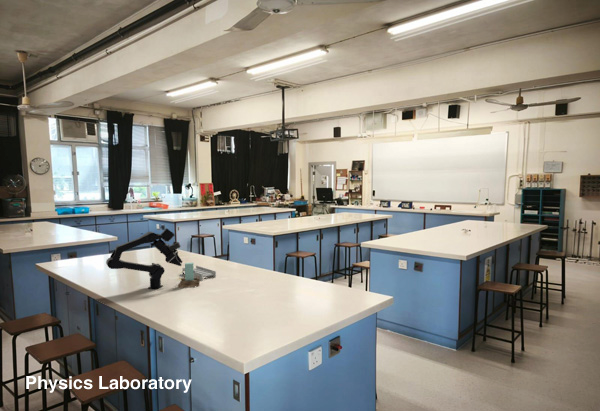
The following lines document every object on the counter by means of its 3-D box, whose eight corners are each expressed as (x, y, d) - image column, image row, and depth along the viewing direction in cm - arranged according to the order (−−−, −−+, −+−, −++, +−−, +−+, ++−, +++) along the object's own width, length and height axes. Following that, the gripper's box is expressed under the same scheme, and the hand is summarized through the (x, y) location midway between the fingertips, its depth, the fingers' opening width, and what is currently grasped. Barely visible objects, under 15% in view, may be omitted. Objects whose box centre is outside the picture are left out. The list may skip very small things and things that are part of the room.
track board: (179, 287, 214) (178, 280, 214) (180, 283, 224) (180, 276, 223) (199, 286, 217) (199, 279, 217) (199, 281, 227) (199, 275, 226)
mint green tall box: (185, 283, 218) (184, 264, 217) (185, 282, 221) (185, 263, 221) (194, 283, 219) (194, 263, 219) (195, 281, 223) (194, 262, 222)
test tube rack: (201, 280, 230) (218, 276, 239) (201, 274, 229) (218, 270, 239) (182, 273, 246) (199, 270, 256) (182, 267, 246) (198, 264, 256)
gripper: (171, 240, 207) (190, 257, 211) (173, 235, 225) (191, 252, 229) (157, 253, 205) (176, 271, 209) (160, 248, 223) (179, 264, 227)
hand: (181, 264), depth 218 cm, fingers open, 9 cm apart
